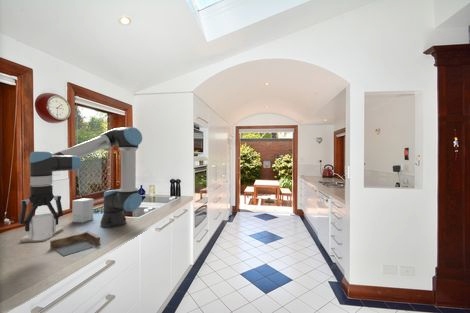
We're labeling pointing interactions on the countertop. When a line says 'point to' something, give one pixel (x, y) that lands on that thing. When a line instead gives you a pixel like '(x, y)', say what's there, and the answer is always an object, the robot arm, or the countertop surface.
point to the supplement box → (82, 210)
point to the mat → (73, 248)
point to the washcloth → (26, 239)
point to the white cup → (42, 226)
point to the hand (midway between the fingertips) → (42, 234)
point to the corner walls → (75, 239)
